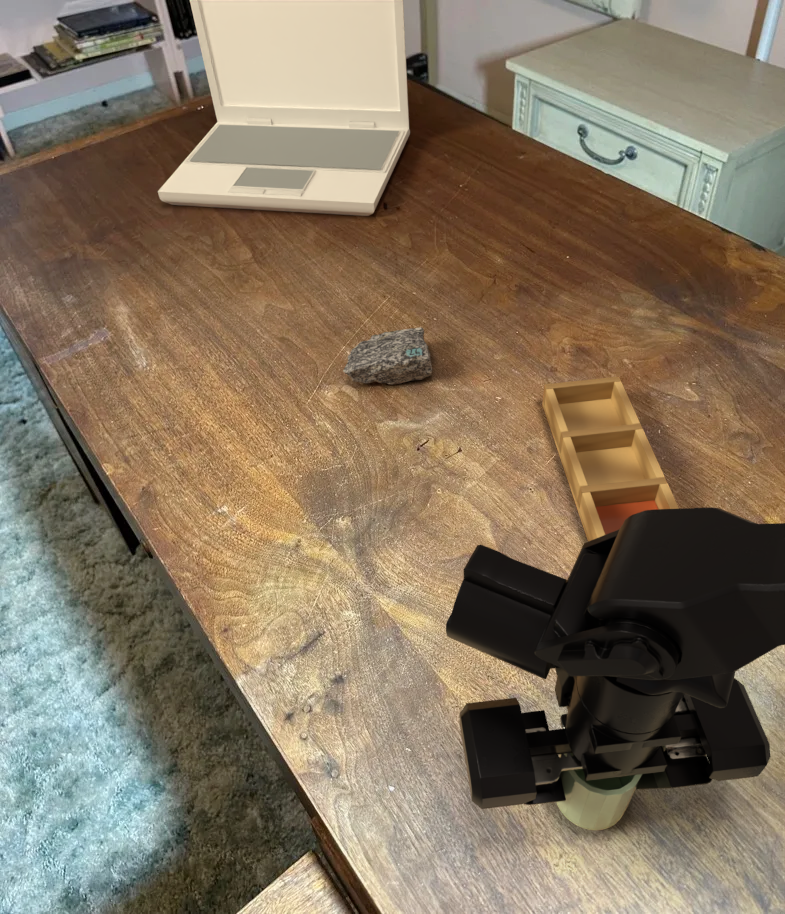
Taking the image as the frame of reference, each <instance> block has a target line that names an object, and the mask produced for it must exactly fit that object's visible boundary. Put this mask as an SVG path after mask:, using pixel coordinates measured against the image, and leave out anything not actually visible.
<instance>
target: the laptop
mask: <svg viewBox="0 0 785 914" xmlns="http://www.w3.org/2000/svg"><path fill="white" fill-rule="evenodd" d="M189 3H190V8H191V12H192V17H193V21H194V25H195V30H196V35H197V39H198V42H199V48H200V51H201V56H202V61H203V65H204V70H205V74H206V78H207V82H208V83H207V84H208V87H209V91H210V96H211V100H212V104H213V109H214V113H215V117H216V122H215V124H214V125H213V126H212V128H210V130H209V131H208V132H207V133H206V135H204V136H203V138H202V140H200V141H199V143H197V145H196V146H195V147H194V148H193V150H192V151H191V152H190V153H189V154H188V155H187V157H186V158H185V159H184V160H183V161H182V162H181V164H180V165H179V166H178V167H177V168H176V169H175V171H174V172H173V173H172V174H171V175H170V176H169V178H168V179H167V180H166V181H165V182H164V183H163V185H161V187H160V188H159V189H158V190H157V193H158V198H159V200H160V201H161V202H162V203H166V204H169V205H172V206H185V207H186V206H187V207H204V208H205V207H206V208H221V209H222V208H224V209H239V210H240V209H241V210H257V211H275V212H290V213H291V212H292V213H307V214H308V213H309V214H326V215H327V214H328V215H342V216H343V215H344V216H360V217H361V216H362V217H369V216H371V215H373V214H374V213H375V210H376V209H377V206H378V204H379V202H380V199H381V197H382V196H383V193H384V191H385V190H386V187H387V184H388V182H389V180H390V178H391V176H392V174H393V172H394V169H395V167H396V165H397V163H398V161H399V159H400V157H401V154H402V152H403V150H404V148H405V146H406V143H407V141H408V139H409V137H410V135H411V129H410V117H409V116H410V114H409V96H408V93H409V92H408V74H407V73H408V72H407V53H406V52H407V51H406V33H405V31H406V29H405V11H404V10H405V8H404V0H189Z"/></svg>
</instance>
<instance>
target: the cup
mask: <svg viewBox="0 0 785 914" xmlns="http://www.w3.org/2000/svg"><path fill="white" fill-rule="evenodd" d="M570 754H571V756H573V753H570ZM564 755H565V757H567V754H564ZM558 756H559V758H561V754H560V755H558ZM641 776H642V774H638V775H630V776H621V777H613V778H604V779H596V780H587V781H586V779H585V775H584V771H583V769H575V770H566V771H562V772H561V773H560V777H561V781H562V785H563V789H564V793H565V798H566V801H561V802H555V803H556V805H557V807H558V809H559V811H560V812H561V814H562V816H564V817H565V818H566V820H568V821H570V823H572V824H573V825H575V826H577V827H579V828H581V829H583V830H589V831H603V830H607V829H609V828H612V827H613V826H615V825H616V824H617V823H618V822H620V820H621V819H622V818H623V816H624V814H625V813H626V811H627V809H628V807H629V804H630V803H631V800H632V798H633V796H634V794H635V792H636V790H637V789H636V787H637V785H638V783H639V781H640V779H641Z"/></svg>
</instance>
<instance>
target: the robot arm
mask: <svg viewBox="0 0 785 914" xmlns="http://www.w3.org/2000/svg"><path fill="white" fill-rule="evenodd" d="M445 634H446V637H448V638H449V639H451V640H454V641H456V642H458V643H461V644H463V645H465V646H467V647H470V648H472V649H474V650H476V651H479V652H481V653H483V654H486V655H488V656H490V657H492V658H495V659H497V660H499V661H502V662H504V663H506V664H508V665H511V666H513V667H515V668H518V669H519V670H523V671H525V672H527V673H528V674H532V675H534V676H536V677H539V678H540V679H543V680H547V678H548V676H549V673H550V670H552V669H555V673H556V681H555V685H554V693H555V698H556V701H557V705H558V708H563V707H564V708H565V707H566V711H567V713H563V714H561V715H560V717H559V722H560V726H561V728H557V729H550V727H549V723H548V719H547V715H546V711H545V710H544V709H543V710H542V709H541V710H535V711H525V712H522V708H521V704H520V702H519V700H518V698H517V697H510V698H500V699H493V700H492V699H491V700H484V701H475V702H466V703H465V705H464V707H463V708H462V709H461V711H460V713H459V719H458V721H459V730H460V736H461V743H462V749H463V755H464V761H465V768H466V774H467V781H468V787H469V792H470V793H469V794H470V799H471V802H472V803H473V804H474V805H476V806H477V807H478V808H479V809H481V810H486V809H496V808H503V807H513V806H520V805H525V806H534V805H542V804H543V805H544V804H552V803H556V802H561V801H566V798H565V793H564V789H563V785H562V781H561V777H560V773H561V772H562V771H566V770H575V769H583V771H584V775H585V779H586V781H587V780H596V779H604V778H613V777H621V776H630V775H638V774H642V776H641V779H640V781H639V783H638V785H637V787H636V789H635V790H657V789H658V790H662V789H678V788H686V787H693V786H703V785H704V786H705V785H708V784H710V783H711V782H712V781H713V780H714V781H717V782H723V781H724V782H725V781H731V780H740V779H749V778H755V777H756V778H757V777H759V776H760V775H761V774H762V772H763V771H764V770H765V768H766V767H767V766H768V765H769V761H770V759H771V745H770V744H771V743H770V742H769V739H768V737H767V735H766V732H765V730H764V728H763V726H762V723H761V720H760V718H759V717H758V714H757V711H756V709H755V708H754V707H755V706H754V705H753V702H752V700H751V698H750V696H749V694H748V692H747V689H746V686H745V685H744V684H743V683H742V682H740V681H739V680H738V679H737V678H736V677H735V675H736V672H737V671H739V670H741V669H743V668H744V667H746V666H747V665H749V664H751V663H752V662H754V661H756V660H758V659H759V658H761V657H763V656H764V655H767V654H768V653H769V652H772V651H773V650H775V649H776V648H778V647H781V646H785V522H781V523H780V522H779V523H773V522H772V523H758V522H754V521H753V520H752V521H751V520H749V519H747V518H744V517H742V516H740V515H738V514H735V513H732V512H730V511H727V510H725V509H723V508H720V507H686V508H683V507H682V508H681V507H680V508H679V509H654V510H645V511H642V512H639V513H636V514H633V515H631V516H630V517H628V518H627V519H626V520H625V521H624V523H623V525H622V526H621V527H620V529H619V530H616V531H614V532H611V533H609V534H606V535H604V536H601V537H598V538H596V539H593V540H591V541H588V540H587V541H586V542H584V543H583V544H582V547H581V549H580V551H579V553H578V556H577V558H576V560H575V562H574V565H573V566H572V569H571V571H570V573H569V575H568V577H567V579H566V578H564V577H561V576H559V575H556V574H554V573H550V572H548V571H546V570H543V569H540V568H537V567H535V566H533V565H531V564H527V563H524V562H522V561H519V560H516V559H515V558H512V557H510V556H508V555H506V554H504V553H503V552H501V551H499V550H496V549H493V548H491V547H488V546H486V545H483V544H477V545H476V546H475V549H474V550H473V552H472V554H471V556H470V557H469V559H468V560H467V562H466V564H465V566H464V568H463V579H462V582H461V584H460V586H459V589H458V592H457V593H456V598H455V600H454V603H453V606H452V610H451V613H450V615H449V616H448V618H447V621H446V624H445ZM570 753H573V756H571V754H570ZM560 754H561V758H559V756H560ZM564 754H567V757H565V755H564Z"/></svg>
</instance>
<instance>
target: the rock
mask: <svg viewBox="0 0 785 914" xmlns="http://www.w3.org/2000/svg"><path fill="white" fill-rule="evenodd" d="M424 329H425V328H423V327H421V326H420V327H416V328H415V327H414V328H413V327H412V328H411V327H410V328H405V329H397V330H392V331H384V332H382V333H378V334H373V335H370V338H369V339H368V340H362V341H360V342H359V343H358V344H357V345H356V346H355V347H353V348H352V349H351V350H350V353H349V354H348V356H347V363H346V364H345V366H344V368H343V370H342V372H343V373H344V374H345V375H347V376H348V377H349V378H350V379H351V381H352V382H354V383H363V384H371V383H375V382H376V383H379V384H388V385H399V384H402V383H403V384H404V383H407V382H410V381H422V380H424V379H426V378H428V377H430V376H432V375H433V366H432V360H431V352H430V350H429V346H428V344H427V342H426V341H425V338H424V335H425V330H424Z"/></svg>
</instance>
